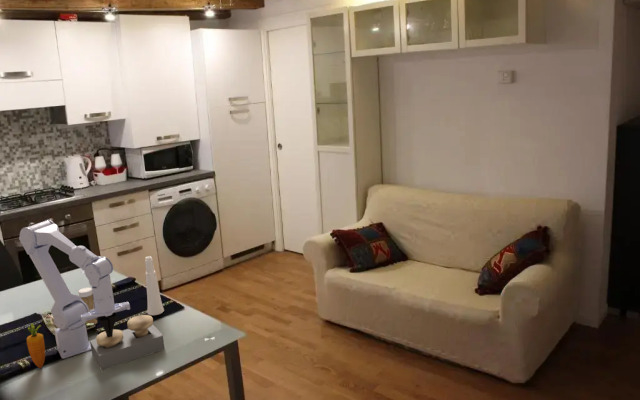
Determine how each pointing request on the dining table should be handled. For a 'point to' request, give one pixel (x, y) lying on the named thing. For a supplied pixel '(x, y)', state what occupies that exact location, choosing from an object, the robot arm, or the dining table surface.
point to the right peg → (140, 325)
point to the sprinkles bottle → (88, 301)
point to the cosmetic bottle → (152, 289)
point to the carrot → (36, 346)
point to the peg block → (127, 348)
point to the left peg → (109, 339)
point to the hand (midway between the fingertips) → (109, 335)
